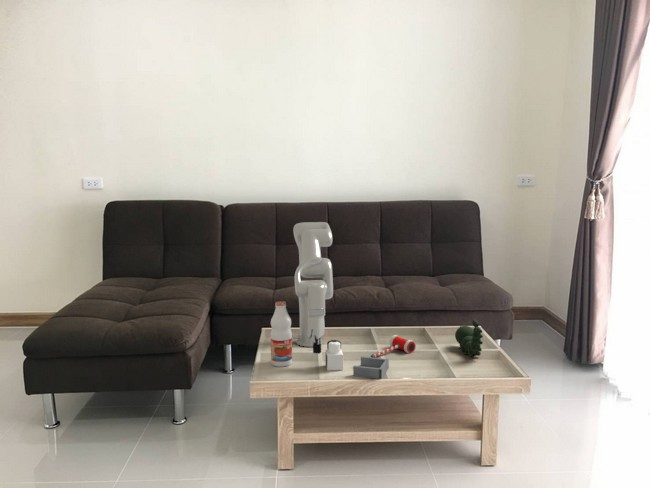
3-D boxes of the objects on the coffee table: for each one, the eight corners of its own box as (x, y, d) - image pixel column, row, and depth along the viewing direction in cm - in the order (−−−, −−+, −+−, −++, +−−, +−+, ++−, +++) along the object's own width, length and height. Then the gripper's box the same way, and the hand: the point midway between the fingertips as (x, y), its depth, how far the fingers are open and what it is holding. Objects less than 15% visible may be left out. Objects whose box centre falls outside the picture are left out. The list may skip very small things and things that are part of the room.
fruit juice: (286, 358, 268) (285, 299, 264) (295, 364, 260) (295, 303, 256) (267, 362, 263) (266, 301, 259) (276, 368, 255) (275, 306, 251)
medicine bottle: (325, 365, 259) (325, 339, 257) (341, 364, 260) (341, 338, 258) (326, 370, 252) (326, 344, 250) (343, 370, 253) (343, 343, 251)
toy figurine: (486, 363, 265) (468, 341, 289) (489, 324, 261) (471, 305, 285) (466, 364, 264) (450, 342, 289) (468, 324, 260) (452, 305, 284)
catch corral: (353, 375, 246) (353, 366, 246) (361, 365, 259) (361, 356, 258) (381, 378, 243) (381, 369, 242) (388, 367, 255) (388, 359, 255)
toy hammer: (380, 362, 263) (380, 349, 262) (363, 356, 272) (363, 342, 271) (416, 352, 277) (416, 339, 276) (398, 346, 286) (398, 333, 285)
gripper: (314, 307, 263) (314, 347, 265) (302, 315, 249) (303, 357, 251) (330, 308, 261) (330, 348, 263) (319, 316, 247) (319, 358, 249)
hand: (317, 352), depth 257 cm, fingers closed
